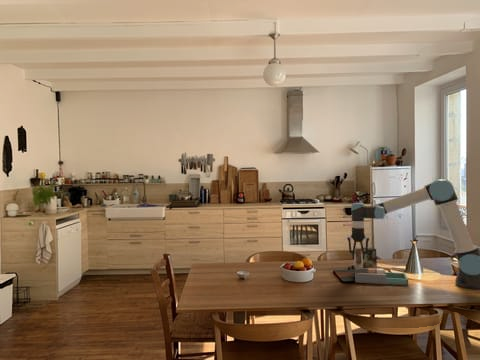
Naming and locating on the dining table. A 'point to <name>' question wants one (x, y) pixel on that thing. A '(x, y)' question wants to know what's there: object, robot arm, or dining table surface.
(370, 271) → the peach cube block
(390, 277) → the chute tray
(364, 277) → the slot board
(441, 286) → the dining table surface
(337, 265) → the dining table surface
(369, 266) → the coffee box
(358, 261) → the brown block with tab
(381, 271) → the cream cube
